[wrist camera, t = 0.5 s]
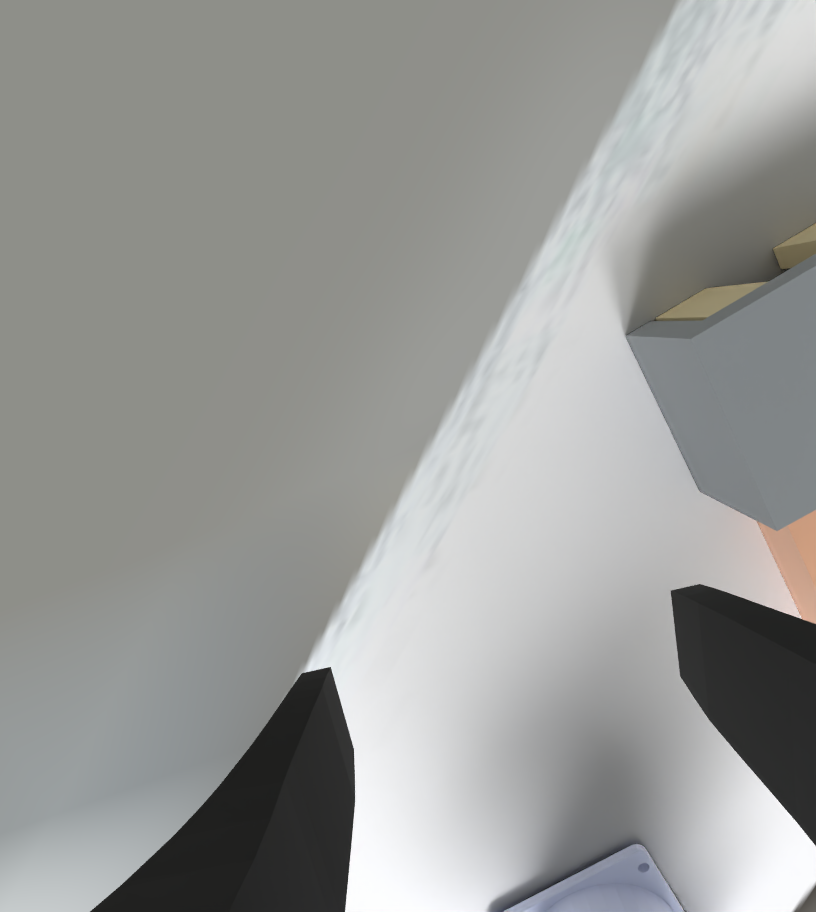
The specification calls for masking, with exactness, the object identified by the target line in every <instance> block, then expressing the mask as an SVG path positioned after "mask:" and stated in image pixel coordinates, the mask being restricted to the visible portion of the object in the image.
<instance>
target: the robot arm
mask: <svg viewBox="0 0 816 912" xmlns="http://www.w3.org/2000/svg"><path fill="white" fill-rule="evenodd" d="M671 597H672V606H673V615H674V624H675V633H676V642H677V651H678V660H679V669H680V676H681V678H682V679H683V681H684V683H685V684H686V686H687V687H688V689H689V690H690V692H691V693H692V695H693V697H694V698H695V700H696V701H697V703H698V704H699V706H700V707H701V708H702V710H703V711H704V713H705V714H706V716H707V717H708V719H709V720H710V721H711V722H712V724H713V725H714V726H715V727H716V729H717V730H718V731H719V732H720V733H721V734H722V736H723V737H724V738H725V739H726V740H727V742H728V743H729V744H730V745H731V746H732V747H733V749H734V750H735V751H736V752H737V753H738V754H739V756H740V757H741V758H742V759H743V760H744V761H745V763H746V764H747V765H748V766H749V767H750V768H751V770H752V771H753V772H754V773H755V774H756V775H757V777H758V778H759V779H760V780H761V781H762V782H763V783H764V785H765V786H766V787H767V788H768V789H769V790H770V792H771V793H772V794H773V795H774V796H775V797H776V799H777V800H778V801H779V802H780V803H781V804H782V805H783V807H784V808H785V809H786V810H787V811H788V812H789V814H790V815H791V816H792V817H793V818H794V819H795V821H796V822H797V823H798V824H799V825H800V827H801V828H802V829H803V830H804V832H805V833H806V834H807V835H808V837H809V838H810V839H811V840H812V842H813V843H814V844H815V845H816V624H815V623H812V622H809V621H806V620H803V619H800V618H797V617H794V616H791V615H788V614H786V613H783V612H780V611H777V610H774V609H771V608H769V607H766V606H763V605H760V604H758V603H755V602H752V601H749V600H746V599H744V598H741V597H738V596H735V595H732V594H729V593H727V592H724V591H721V590H718V589H715V588H711V587H708V586H704V585H700V584H699V585H694V586H690V587H685V588H681V589H676V590H672V591H671ZM354 807H355V770H354V748H353V745H352V741H351V738H350V734H349V731H348V727H347V723H346V720H345V716H344V713H343V709H342V706H341V702H340V699H339V695H338V692H337V688H336V684H335V681H334V677H333V674H332V670H331V667H329V668H324V669H320V670H315V671H311V672H306V673H302V674H301V675H300V677H299V678H298V680H297V681H296V682H295V684H294V685H293V687H292V688H291V690H290V691H289V693H288V694H287V695H286V697H285V698H284V700H283V701H282V703H281V704H280V706H279V707H278V709H277V710H276V711H275V713H274V714H273V716H272V717H271V719H270V720H269V722H268V723H267V724H266V726H265V727H264V729H263V730H262V731H261V733H260V734H259V736H258V737H257V738H256V740H255V741H254V742H253V744H252V745H251V746H250V748H249V749H248V750H247V752H246V753H245V754H244V755H243V757H242V758H241V759H240V760H239V762H238V763H237V764H236V765H235V767H234V768H233V769H232V771H231V772H230V773H229V774H228V776H227V777H226V778H225V779H224V781H223V782H222V783H221V784H220V786H219V787H218V788H217V789H216V790H215V791H214V793H213V794H212V795H211V796H210V797H209V798H208V799H207V801H206V802H205V803H204V804H203V805H202V806H201V807H200V808H199V809H198V811H197V812H196V813H195V814H194V815H193V816H192V817H191V818H190V819H189V820H188V821H187V822H186V823H185V824H184V825H183V826H182V828H181V829H180V830H179V831H178V832H177V833H176V834H175V835H174V836H173V837H172V838H171V839H170V840H169V841H168V842H167V843H166V844H164V846H162V847H161V848H160V849H159V850H158V851H157V852H156V853H155V854H154V855H153V856H152V857H151V858H150V859H149V860H148V861H146V863H144V864H143V865H142V866H141V867H140V868H139V869H138V870H137V871H136V872H135V873H134V874H133V875H132V876H131V877H130V878H128V879H127V880H126V881H125V882H124V883H123V884H122V885H121V886H120V887H119V888H117V889H116V890H115V891H114V892H113V893H111V894H110V895H109V896H108V897H107V898H106V899H104V900H103V901H102V902H101V903H100V904H99V905H98V906H96V907H95V908H94V909H93V910H92V911H90V912H345V905H346V894H347V884H348V873H349V862H350V852H351V841H352V830H353V819H354ZM503 912H685V911H684V910H683V908H682V907H681V905H680V903H679V902H678V900H677V898H676V897H675V895H674V894H673V892H672V890H671V889H670V887H669V885H668V884H667V882H666V881H665V879H664V877H663V876H662V874H661V873H660V871H659V869H658V868H657V866H656V864H655V863H654V861H653V860H652V858H651V856H650V855H649V853H648V852H647V850H646V848H645V847H644V846H643V845H640V844H633V845H631V846H629V847H627V848H625V849H623V850H621V851H619V852H617V853H615V854H613V855H611V856H609V857H607V858H605V859H604V860H602V861H600V862H598V863H596V864H594V865H592V866H590V867H588V868H586V869H584V870H582V871H580V872H578V873H577V874H575V875H573V876H571V877H569V878H567V879H565V880H563V881H561V882H559V883H557V884H555V885H553V886H551V887H549V888H548V889H546V890H544V891H542V892H540V893H538V894H536V895H534V896H532V897H530V898H528V899H526V900H524V901H522V902H521V903H519V904H517V905H515V906H513V907H511V908H509V909H507V910H505V911H503Z"/></svg>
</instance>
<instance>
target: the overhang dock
mask: <svg viewBox="0 0 816 912" xmlns="http://www.w3.org/2000/svg"><path fill="white" fill-rule="evenodd" d="M773 251H774V253H775V256H776V258H777V261H778V263H779V266H780V268H781V269H788V268H791V269H789V270H787V271H786V272H784V273H782V274H780V275H779V276H777V277H775V278H774V279H772V280H770V281H768V282H759V283H749V284H740V285H731V286H721V287H712V288H705V289H704V290H702V291H700V292H699V293H697V294H695V295H694V296H692V297H690V298H688V299H687V300H685V301H683V302H682V303H680V304H678V305H677V306H675V307H673V308H672V309H670V310H668V311H667V312H665V313H663V314H661V315H660V316H658V317H656V321H650V322H648V323H646V324H645V325H643V326H641V327H640V328H638V329H636V330H634V331H633V332H631V333H629V334H628V335H626V338H627V340H628V342H629V345H630V347H631V349H632V351H633V353H634V355H635V357H636V359H637V361H638V363H639V365H640V367H641V370H642V372H643V374H644V376H645V378H646V380H647V382H648V384H649V386H650V388H651V390H652V393H653V395H654V397H655V399H656V401H657V403H658V405H659V407H660V409H661V411H662V413H663V415H664V418H665V420H666V422H667V424H668V426H669V428H670V430H671V432H672V434H673V436H674V438H675V440H676V443H677V445H678V447H679V449H680V451H681V453H682V455H683V457H684V459H685V461H686V463H687V466H688V468H689V470H690V472H691V474H692V476H693V478H694V480H695V482H696V484H697V486H698V488H699V491H700V492H702V493H704V494H706V495H708V496H710V497H712V498H714V499H716V500H718V501H719V502H721V503H723V504H725V505H727V506H729V507H731V508H733V509H735V510H737V511H739V512H741V513H743V514H745V515H747V516H749V517H750V518H752V519H754V520H756V521H758V522H760V523H762V524H764V525H766V526H768V527H770V528H772V529H774V530H776V531H778V530H780V529H782V528H784V527H786V526H787V525H789V524H791V523H793V522H795V521H797V520H798V519H800V518H802V517H804V516H806V515H807V514H809V513H811V512H813V511H815V510H816V223H815V224H813V225H812V226H810V227H808V228H807V229H805V230H803V231H802V232H800V233H798V234H797V235H795V236H793V237H791V238H790V239H788V240H786V241H785V242H783V243H781V244H780V245H778V246H776V247H775V248H773Z"/></svg>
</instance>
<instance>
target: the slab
mask: <svg viewBox="0 0 816 912" xmlns="http://www.w3.org/2000/svg"><path fill="white" fill-rule="evenodd" d="M757 523H758V525H759V527H760V529H761V531H762V533H763V536H764V538H765V540H766V542H767V544H768V546H769V548H770V551H771V553H772V555H773V557H774V559H775V561H776V563H777V566H778V568H779V570H780V572H781V574H782V576H783V578H784V581H785V583H786V585H787V587H788V589H789V591H790V593H791V596H792V598H793V600H794V602H795V604H796V606H797V609H798V611H799V613H800V615H801V617H802V619H803V620H806V621H809V622H812V623H815V624H816V510H815V511H813V512H811V513H809V514H807V515H806V516H804V517H802V518H800V519H798V520H797V521H795V522H793V523H791V524H789V525H787V526H786V527H784V528H782V529H780V530H778V531H776V530H774V529H772V528H770V527H768V526H766V525H764V524H762V523H760V522H758V521H757Z"/></svg>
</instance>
